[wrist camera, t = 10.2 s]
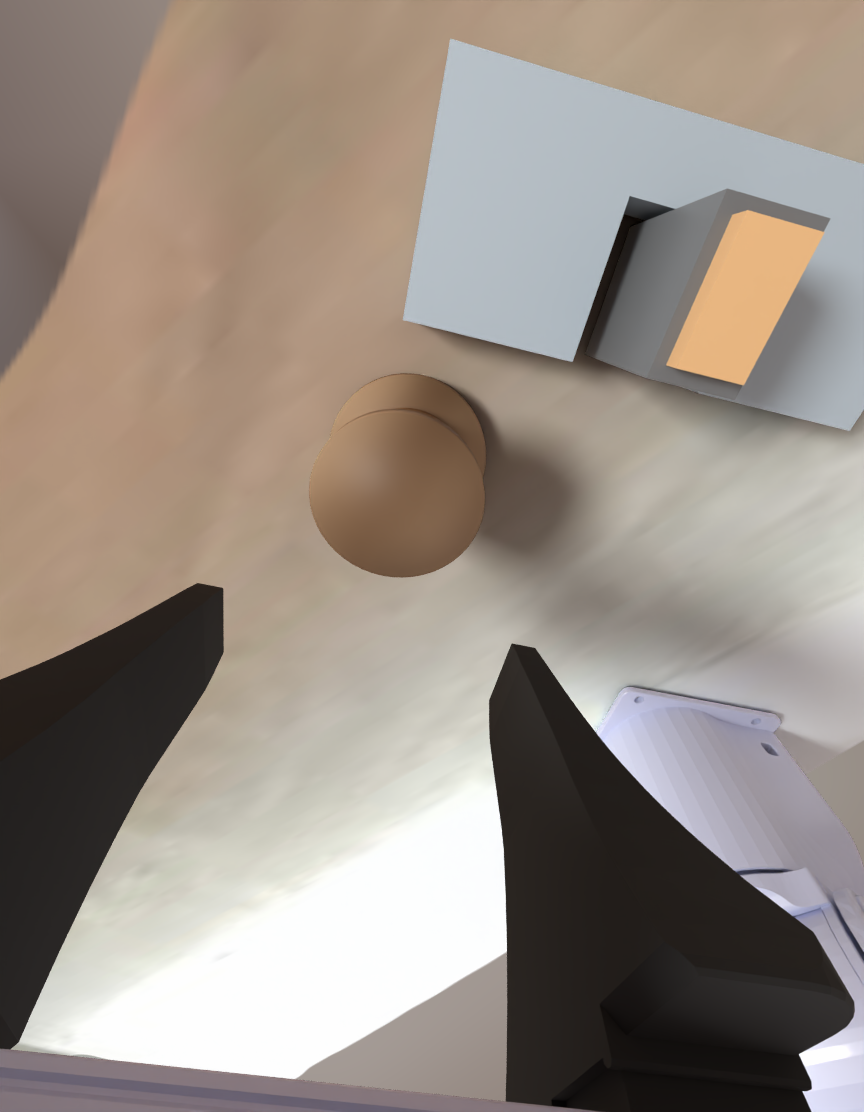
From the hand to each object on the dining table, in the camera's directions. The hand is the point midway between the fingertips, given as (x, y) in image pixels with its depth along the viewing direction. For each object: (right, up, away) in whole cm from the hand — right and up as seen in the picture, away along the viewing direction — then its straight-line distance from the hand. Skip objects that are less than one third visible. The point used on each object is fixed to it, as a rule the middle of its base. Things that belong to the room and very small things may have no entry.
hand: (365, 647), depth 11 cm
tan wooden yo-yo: (+1, +7, +8) cm, 10 cm away
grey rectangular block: (+9, +11, +5) cm, 15 cm away
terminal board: (+9, +12, +4) cm, 16 cm away
